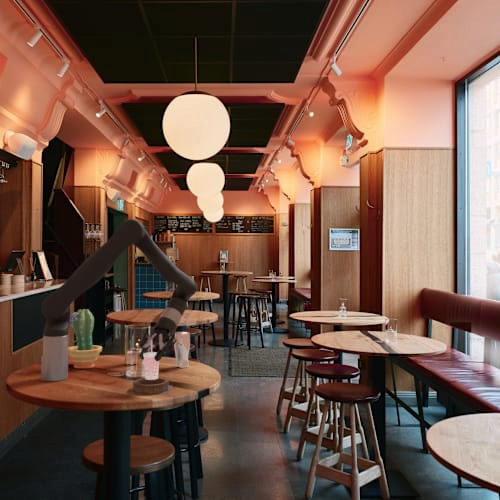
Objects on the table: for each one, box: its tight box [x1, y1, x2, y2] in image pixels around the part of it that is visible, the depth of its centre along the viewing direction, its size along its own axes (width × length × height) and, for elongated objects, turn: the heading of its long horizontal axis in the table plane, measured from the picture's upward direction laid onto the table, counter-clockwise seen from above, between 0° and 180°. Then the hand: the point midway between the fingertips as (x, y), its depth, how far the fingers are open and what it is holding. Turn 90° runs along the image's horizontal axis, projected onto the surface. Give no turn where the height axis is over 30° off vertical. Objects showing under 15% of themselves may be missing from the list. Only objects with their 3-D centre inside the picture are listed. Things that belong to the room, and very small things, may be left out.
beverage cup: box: [143, 340, 160, 380], centre depth 191 cm, size 6×6×14 cm
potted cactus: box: [68, 308, 103, 369], centre depth 232 cm, size 15×15×25 cm
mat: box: [128, 384, 173, 395], centre depth 190 cm, size 14×12×1 cm
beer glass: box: [173, 331, 191, 369], centre depth 232 cm, size 7×7×15 cm
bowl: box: [132, 376, 170, 395], centre depth 190 cm, size 12×12×3 cm
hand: (148, 359), depth 189 cm, fingers closed on beverage cup, 6 cm apart
